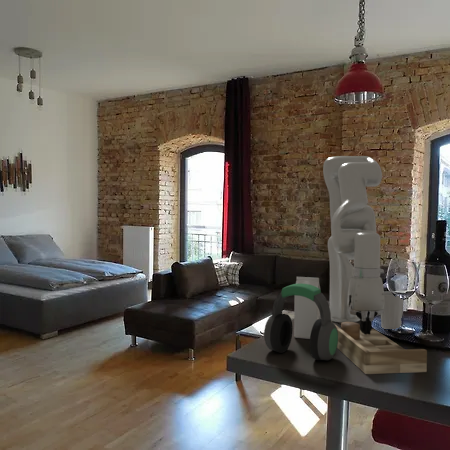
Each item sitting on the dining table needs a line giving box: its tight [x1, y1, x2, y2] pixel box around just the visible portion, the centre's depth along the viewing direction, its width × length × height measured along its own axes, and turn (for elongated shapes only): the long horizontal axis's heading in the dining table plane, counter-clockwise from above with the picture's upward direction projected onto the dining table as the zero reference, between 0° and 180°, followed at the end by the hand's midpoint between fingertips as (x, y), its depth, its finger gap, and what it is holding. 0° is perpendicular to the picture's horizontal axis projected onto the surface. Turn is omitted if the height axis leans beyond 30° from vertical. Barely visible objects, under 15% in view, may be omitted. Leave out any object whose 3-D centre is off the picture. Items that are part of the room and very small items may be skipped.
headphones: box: [263, 283, 338, 361], centre depth 127 cm, size 19×11×20 cm, turn 58°
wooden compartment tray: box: [336, 325, 428, 375], centre depth 130 cm, size 32×16×6 cm, turn 5°
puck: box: [340, 322, 360, 340], centre depth 137 cm, size 6×6×4 cm
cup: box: [380, 290, 405, 330], centre depth 155 cm, size 8×8×12 cm
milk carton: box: [293, 276, 321, 340], centre depth 146 cm, size 7×7×19 cm
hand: (365, 333), depth 138 cm, fingers closed
